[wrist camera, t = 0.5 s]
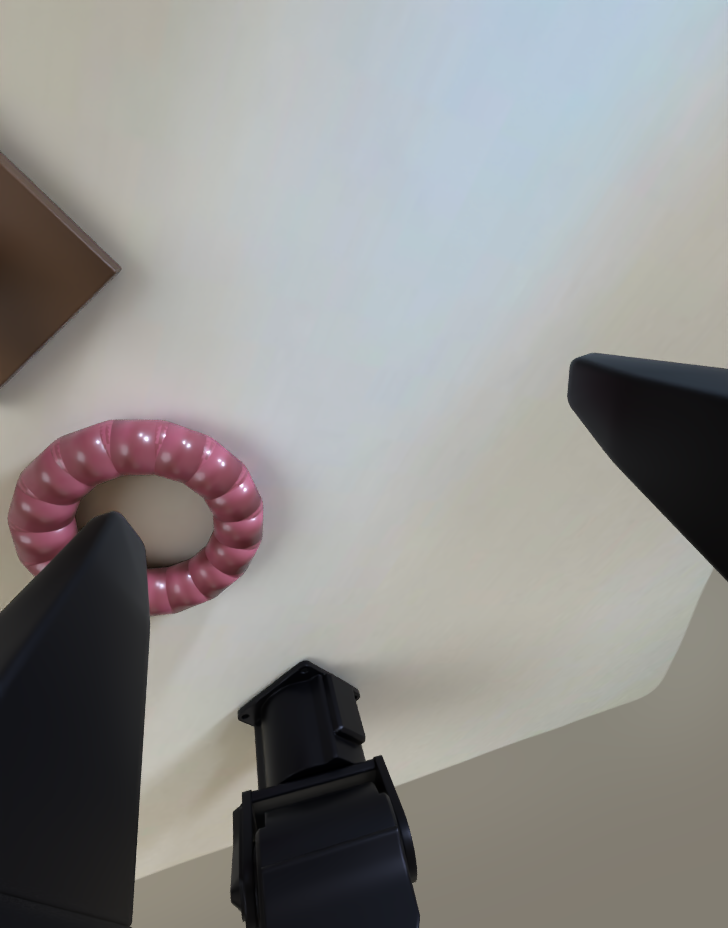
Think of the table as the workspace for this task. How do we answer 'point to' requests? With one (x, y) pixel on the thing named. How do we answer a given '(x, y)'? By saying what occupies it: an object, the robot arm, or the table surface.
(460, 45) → the table surface
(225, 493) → the ring
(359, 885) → the robot arm
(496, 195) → the table surface
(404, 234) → the table surface
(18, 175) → the stand
